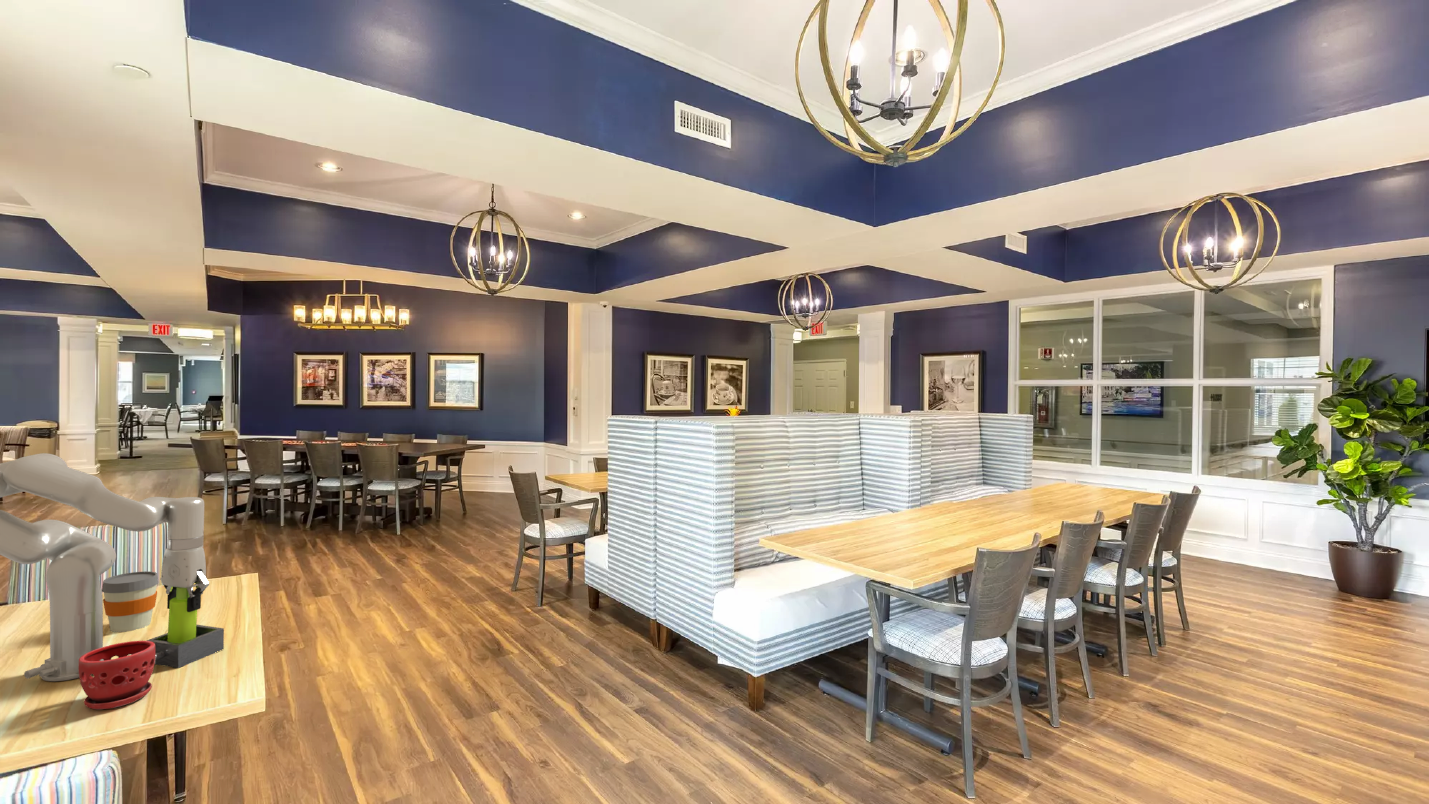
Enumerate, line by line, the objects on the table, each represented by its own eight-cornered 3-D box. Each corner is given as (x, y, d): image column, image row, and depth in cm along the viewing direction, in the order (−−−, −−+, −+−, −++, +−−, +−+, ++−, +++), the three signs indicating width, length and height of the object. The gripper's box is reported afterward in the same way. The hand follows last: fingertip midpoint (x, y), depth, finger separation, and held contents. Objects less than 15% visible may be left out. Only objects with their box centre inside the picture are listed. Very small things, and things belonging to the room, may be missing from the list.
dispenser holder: (159, 676, 159) (159, 652, 159) (126, 670, 162) (126, 647, 161) (223, 649, 175) (223, 628, 175) (192, 644, 178) (192, 624, 178)
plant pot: (169, 686, 154) (170, 638, 154) (120, 715, 141) (121, 662, 140) (115, 686, 154) (115, 638, 153) (61, 714, 140) (61, 661, 140)
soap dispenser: (186, 652, 167) (190, 578, 167) (160, 649, 167) (165, 576, 167) (204, 643, 173) (208, 572, 173) (180, 640, 173) (184, 569, 173)
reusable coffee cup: (169, 619, 195) (169, 572, 195) (127, 635, 182) (128, 585, 182) (133, 617, 196) (133, 570, 196) (89, 633, 184) (89, 582, 183)
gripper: (145, 543, 168) (144, 609, 168) (196, 549, 164) (194, 617, 164) (175, 537, 175) (173, 600, 176) (224, 543, 171) (222, 608, 172)
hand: (184, 608), depth 170 cm, fingers closed on soap dispenser, 6 cm apart
